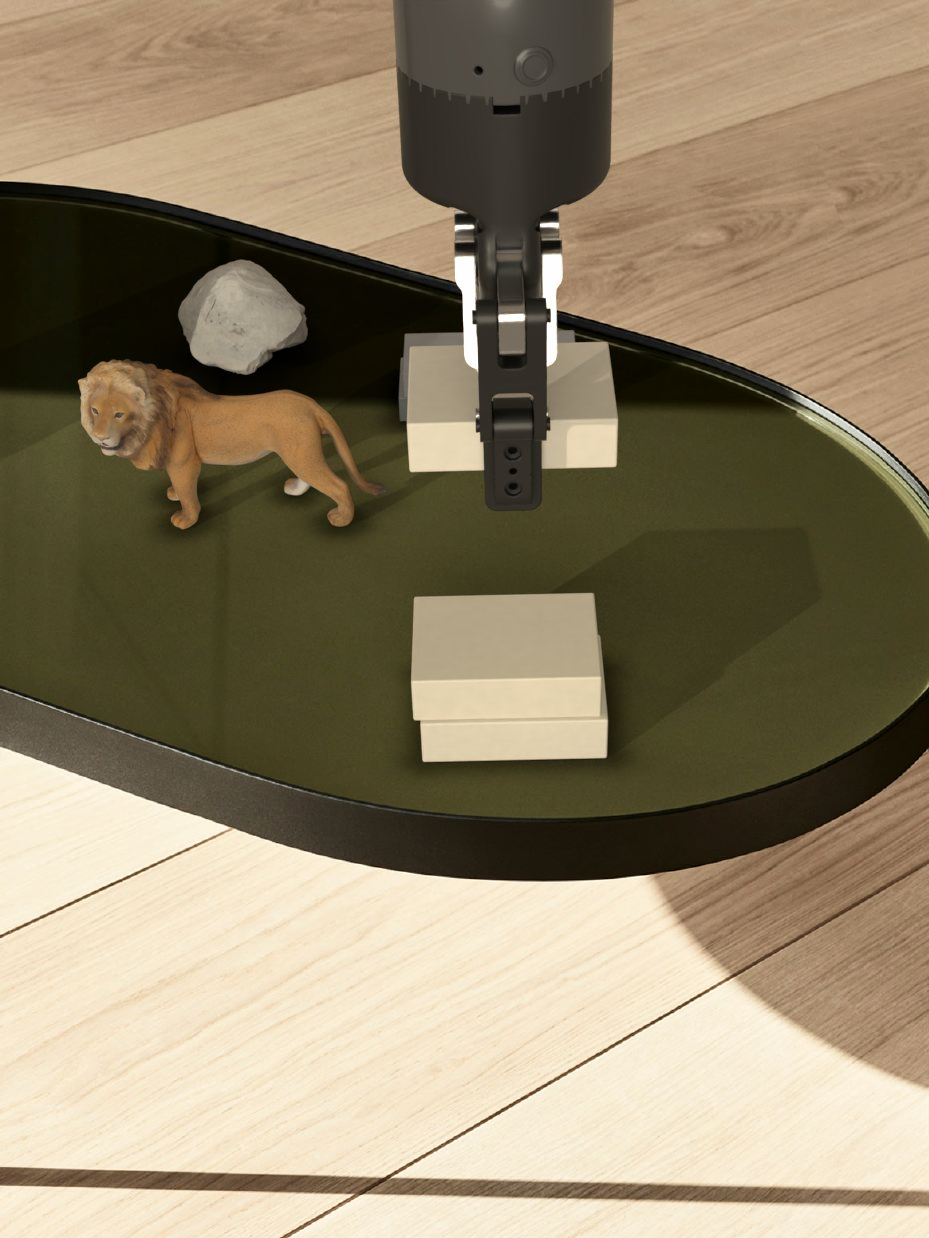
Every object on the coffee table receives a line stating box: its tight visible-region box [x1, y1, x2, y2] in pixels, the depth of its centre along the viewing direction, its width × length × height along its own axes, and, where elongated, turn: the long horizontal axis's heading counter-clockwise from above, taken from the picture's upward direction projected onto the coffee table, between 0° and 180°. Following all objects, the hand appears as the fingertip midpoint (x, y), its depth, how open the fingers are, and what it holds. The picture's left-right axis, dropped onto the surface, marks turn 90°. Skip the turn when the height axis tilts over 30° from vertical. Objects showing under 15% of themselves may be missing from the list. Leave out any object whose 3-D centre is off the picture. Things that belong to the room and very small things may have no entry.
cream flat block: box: [406, 341, 619, 473], centre depth 72 cm, size 8×6×2 cm
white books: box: [410, 592, 609, 763], centre depth 81 cm, size 8×6×4 cm
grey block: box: [398, 329, 576, 422], centre depth 102 cm, size 10×4×3 cm, turn 91°
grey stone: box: [177, 259, 308, 376], centre depth 106 cm, size 9×8×5 cm
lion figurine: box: [77, 358, 387, 530], centre depth 92 cm, size 15×5×9 cm, turn 98°
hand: (511, 458), depth 74 cm, fingers closed on cream flat block, 6 cm apart
